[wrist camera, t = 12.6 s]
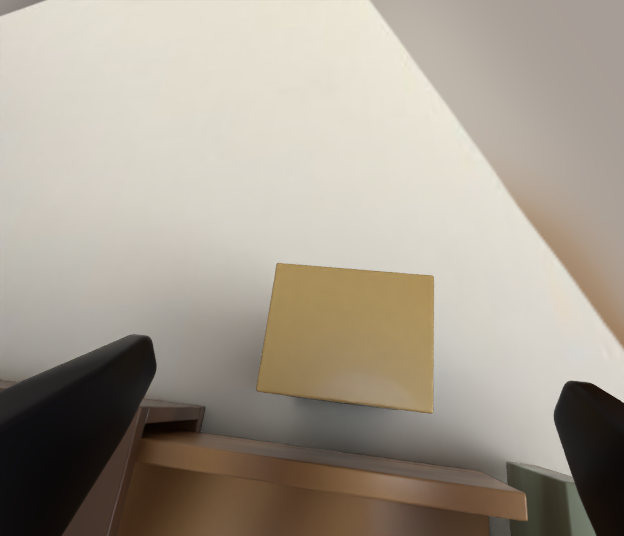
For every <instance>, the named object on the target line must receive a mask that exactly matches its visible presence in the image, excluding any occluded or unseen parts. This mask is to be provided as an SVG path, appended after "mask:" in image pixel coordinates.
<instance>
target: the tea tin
mask: <svg viewBox="0 0 624 536" xmlns="http://www.w3.org/2000/svg"><path fill="white" fill-rule="evenodd" d="M433 350H434V277H433V276H430V275H418V274H406V273H393V272H381V271H369V270H356V269H344V268H332V267H320V266H307V265H295V264H283V263H277V266H276V272H275V278H274V284H273V290H272V296H271V302H270V308H269V314H268V320H267V327H266V333H265V339H264V345H263V351H262V357H261V363H260V369H259V375H258V381H257V387H256V390H257V391H258V392H264V393H272V394H280V395H287V396H292V397H298V398H306V399H314V400H322V401H330V402H337V403H345V404H353V405H361V406H369V407H377V408H385V409H393V410H406V411H414V412H422V413H433Z"/></svg>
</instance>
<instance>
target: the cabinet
mask: <svg viewBox="0 0 624 536" xmlns="http://www.w3.org/2000/svg"><path fill="white" fill-rule="evenodd" d="M17 383H18V382H10V381H2V380H0V391H1V390H3V389H5V388H8V387H10V386H12V385H15V384H17ZM204 411H205V407H204V406H197V405H189V404H181V403H173V402H166V401H158V400H150V399H143V400H142V402H141V404H140V406H139V408H138V410H137V412H136V414H135V416H134V418H133V420H132V422H131V424H130V426H129V428H128V430H127V431H126V433H125V435H124V437H123V439H122V440H121V442H120V444H119V445H118V447H117V448H116V450H115V452H114V453H113V455H112V457H111V458H110V460H109V461H108V463H107V465H106V466H105V468H104V469H103V471H102V473H101V474H100V476H99V477H98V479H97V481H96V482H95V484H94V485H93V487H92V489H91V490H90V492H89V493H88V495H87V497H86V498H85V500H84V501H83V503H82V505H81V506H80V508H79V509H78V511H77V513H76V514H75V516H74V518H73V519H72V521H71V522H70V524H69V526H68V527H67V529H66V530H65V532H64V534H63V535H62V536H117V533H118V529H119V525H120V521H121V517H122V513H123V509H124V505H125V501H126V497H127V493H128V489H129V485H130V481H131V477H132V473H133V469H134V465H135V461H136V457H137V453H138V449H139V445H140V441H141V438H142V434H143V430H144V426H145V425H148V426H155V427H162V428H170V429H177V430H184V431H191V432H199V433H200V430H201V425H202V420H203V415H204Z"/></svg>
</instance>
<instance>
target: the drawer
mask: <svg viewBox="0 0 624 536" xmlns="http://www.w3.org/2000/svg"><path fill="white" fill-rule="evenodd" d="M506 469H507V484H505V483H503V482H501V481H498V480H496V479H494V478H492V477H490V476H488V475H486V474H484V473H482V472H480V471H474V470H467V469H459V468H452V467H445V466H438V465H430V464H423V463H416V462H409V461H401V460H394V459H387V458H380V457H372V456H365V455H358V454H351V453H344V452H336V451H329V450H322V449H315V448H307V447H300V446H293V445H286V444H278V443H271V442H264V441H257V440H249V439H242V438H235V437H228V436H220V435H213V434H206V433H199V432H191V431H184V430H177V429H170V428H162V427H155V426H148V425H145V426H144V430H143V434H142V438H141V441H140V445H139V449H138V453H137V457H136V461H135V465H134V469H133V473H132V477H131V481H130V485H129V489H128V493H127V497H126V501H125V505H124V509H123V513H122V517H121V521H120V525H119V529H118V533H117V536H490V533H489V516H492V517H498V518H505V519H510V534H511V536H596V534H595V531H594V529H593V527H592V525H591V522H590V520H589V518H588V516H587V513H586V511H585V509H584V506H583V504H582V502H581V499H580V497H579V494H578V491H577V488H576V486H575V483H574V480H573V477H571V476H568V475H565V474H561V473H558V472H555V471H552V470H548V469H545V468H542V467H539V466H535V465H529V464H522V463H514V462H506Z"/></svg>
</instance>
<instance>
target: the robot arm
mask: <svg viewBox="0 0 624 536" xmlns="http://www.w3.org/2000/svg"><path fill="white" fill-rule="evenodd" d="M156 367H157V365H156V359H155V353H154V348H153V343H152V340H151V338H150V337H148V336H145V335H135V334H133V335H129V336H127V337H124V338H122V339H120V340H117V341H115V342H113V343H110V344H108V345H106V346H103V347H101V348H99V349H96V350H94V351H92V352H89V353H87V354H85V355H82V356H80V357H78V358H75V359H73V360H71V361H68V362H66V363H64V364H61V365H59V366H57V367H54V368H52V369H50V370H47V371H45V372H43V373H40V374H38V375H36V376H33V377H31V378H29V379H26V380H24V381H22V382H19V383H17V384H15V385H12V386H10V387H8V388H5V389H3V390H1V391H0V536H62V535H63V534H64V532H65V530H66V529H67V527H68V526H69V524H70V522H71V521H72V519H73V518H74V516H75V514H76V513H77V511H78V509H79V508H80V506H81V505H82V503H83V501H84V500H85V498H86V497H87V495H88V493H89V492H90V490H91V489H92V487H93V485H94V484H95V482H96V481H97V479H98V477H99V476H100V474H101V473H102V471H103V469H104V468H105V466H106V465H107V463H108V461H109V460H110V458H111V457H112V455H113V453H114V452H115V450H116V448H117V447H118V445H119V444H120V442H121V440H122V439H123V437H124V435H125V433H126V431H127V430H128V428H129V426H130V424H131V422H132V420H133V418H134V416H135V414H136V412H137V410H138V408H139V406H140V404H141V402H142V400H143V398H144V396H145V394H146V392H147V390H148V388H149V386H150V384H151V382H152V380H153V378H154V375H155V373H156ZM554 422H555V425H556V428H557V431H558V434H559V437H560V440H561V443H562V446H563V449H564V453H565V456H566V459H567V462H568V465H569V468H570V471H571V474H572V477H573V480H574V483H575V486H576V488H577V491H578V494H579V497H580V499H581V502H582V504H583V506H584V509H585V511H586V513H587V516H588V518H589V520H590V522H591V525H592V527H593V529H594V531H595V534H596V536H624V403H623V402H621V401H620V400H618V399H617V398H615V397H613V396H612V395H610V394H609V393H607V392H605V391H604V390H602V389H601V388H599V387H597V386H596V385H594V384H592V383H588V382H579V381H568V382H567V383H566V384H565V385H564V387H563V389H562V392H561V394H560V397H559V400H558V402H557V405H556V407H555V410H554Z"/></svg>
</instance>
